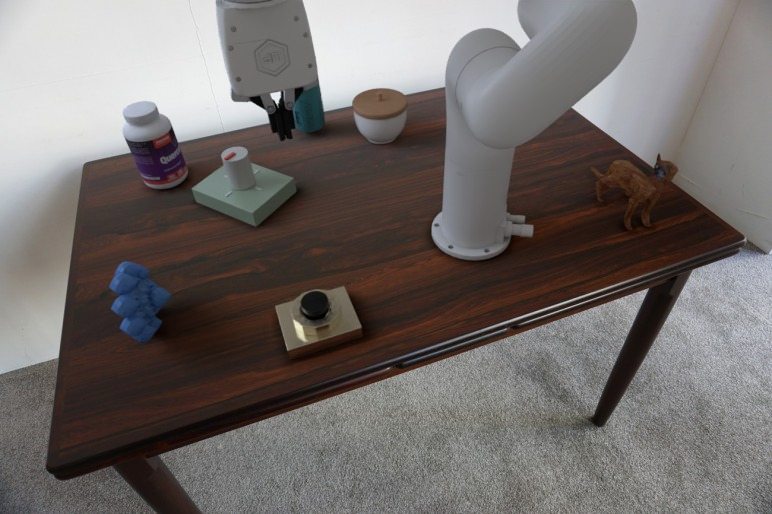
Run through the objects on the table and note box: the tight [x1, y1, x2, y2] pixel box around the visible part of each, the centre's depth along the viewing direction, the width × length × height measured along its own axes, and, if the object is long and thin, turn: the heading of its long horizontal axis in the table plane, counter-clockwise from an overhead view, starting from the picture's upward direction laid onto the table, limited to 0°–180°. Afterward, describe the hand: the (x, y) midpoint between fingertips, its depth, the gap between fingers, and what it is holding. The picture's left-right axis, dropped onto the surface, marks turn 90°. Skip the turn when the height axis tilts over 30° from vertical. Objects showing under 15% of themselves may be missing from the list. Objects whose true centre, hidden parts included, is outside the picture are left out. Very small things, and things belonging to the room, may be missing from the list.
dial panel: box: [191, 162, 297, 228], centre depth 92 cm, size 14×11×3 cm
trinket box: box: [351, 87, 409, 145], centre depth 103 cm, size 11×11×9 cm
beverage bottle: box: [292, 55, 326, 133], centre depth 101 cm, size 6×7×20 cm
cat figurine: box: [590, 153, 679, 231], centre depth 83 cm, size 18×7×14 cm, turn 13°
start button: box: [301, 291, 330, 320], centre depth 69 cm, size 4×4×2 cm
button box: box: [274, 285, 364, 361], centre depth 70 cm, size 10×8×4 cm
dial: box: [220, 146, 255, 190], centre depth 89 cm, size 4×4×6 cm
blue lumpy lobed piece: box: [108, 260, 172, 344], centre depth 68 cm, size 12×7×12 cm, turn 14°
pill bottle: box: [121, 100, 189, 190], centre depth 93 cm, size 8×8×14 cm
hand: (284, 134), depth 68 cm, fingers closed
